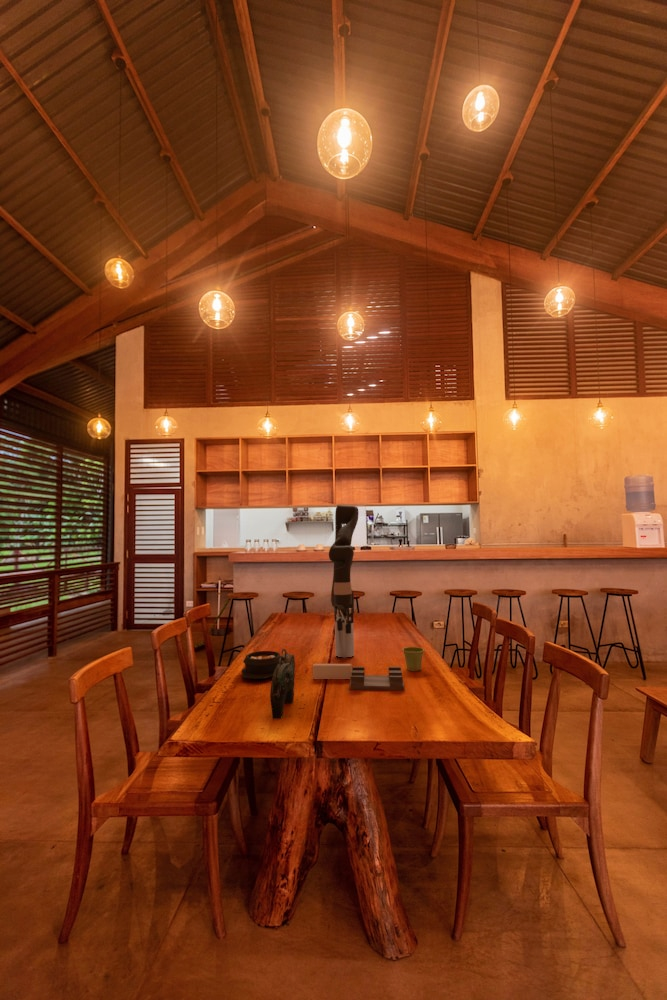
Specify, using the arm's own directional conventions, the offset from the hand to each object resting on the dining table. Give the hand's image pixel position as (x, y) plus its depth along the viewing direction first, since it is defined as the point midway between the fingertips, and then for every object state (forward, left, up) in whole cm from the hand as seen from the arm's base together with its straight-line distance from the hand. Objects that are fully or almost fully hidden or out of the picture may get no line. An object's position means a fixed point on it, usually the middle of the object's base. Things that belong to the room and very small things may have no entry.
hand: (344, 632), depth 199 cm
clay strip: (0, -5, -20) cm, 20 cm away
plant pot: (-14, +30, -20) cm, 38 cm away
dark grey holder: (+7, +13, -19) cm, 24 cm away
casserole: (-6, -36, -20) cm, 42 cm away
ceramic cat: (+34, -19, -20) cm, 44 cm away
